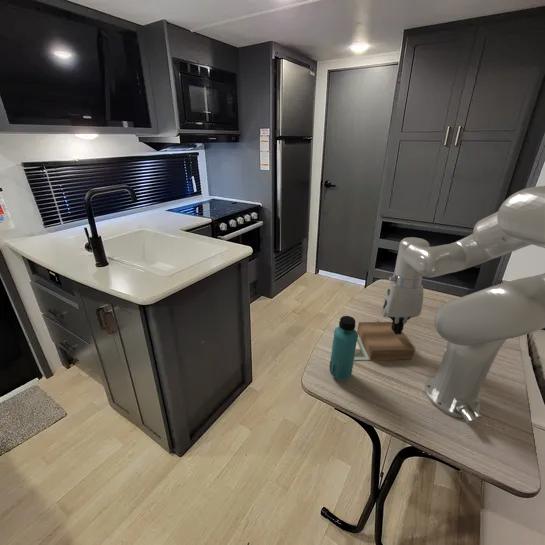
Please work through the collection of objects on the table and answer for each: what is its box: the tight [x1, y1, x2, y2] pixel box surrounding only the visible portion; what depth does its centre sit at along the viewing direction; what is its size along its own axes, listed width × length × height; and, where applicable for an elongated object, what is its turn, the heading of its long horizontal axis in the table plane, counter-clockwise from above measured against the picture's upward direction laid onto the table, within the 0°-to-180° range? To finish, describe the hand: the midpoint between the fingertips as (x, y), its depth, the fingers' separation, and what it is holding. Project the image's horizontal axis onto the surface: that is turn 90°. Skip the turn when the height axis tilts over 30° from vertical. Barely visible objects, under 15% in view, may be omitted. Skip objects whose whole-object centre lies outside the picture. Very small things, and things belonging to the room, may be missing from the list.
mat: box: [354, 335, 371, 361], centre depth 93 cm, size 11×7×1 cm, turn 1°
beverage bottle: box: [329, 315, 359, 381], centre depth 78 cm, size 6×7×20 cm
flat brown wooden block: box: [356, 321, 416, 361], centre depth 94 cm, size 14×13×4 cm
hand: (396, 331), depth 91 cm, fingers closed
